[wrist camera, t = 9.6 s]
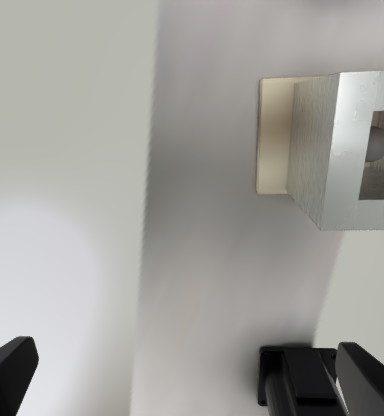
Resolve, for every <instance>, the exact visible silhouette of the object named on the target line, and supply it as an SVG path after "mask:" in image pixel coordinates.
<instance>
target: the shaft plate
mask: <svg viewBox="0 0 384 416" xmlns="http://www.w3.org/2000/svg"><path fill="white" fill-rule="evenodd" d="M319 77H324V76H312V77H291V78H270V79H261V80H260V95H259V122H258V149H257V177H256V191H257V193H258V194H289V193H288V192H287V190H286V183H287V170H288V158H289V145H290V132H291V119H292V107H293V94H294V83H298V82H302V81H306V80H311V79H315V78H319ZM378 115H379V111H373V115H372V121H371V127H370V133H369V139H368V145H367V151H366V157H365V163H364V167H370V162H374V161H377V160H379V159H381V158H382V157H383V156H384V130H383V129H382V128H379V127H377V121H378Z"/></svg>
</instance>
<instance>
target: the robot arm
mask: <svg viewBox="0 0 384 416" xmlns="http://www.w3.org/2000/svg"><path fill="white" fill-rule="evenodd" d="M265 353H267V354H265ZM38 361H39V357H38V353H37V349H36V346H35V342H34V339H33V338H32V337H30V336H19V337H16V338H14V339H13V340H11V341H10V342H8V343H7V344H5V345H4V346H2V347H0V416H16V414H17V412H18V410H19V408H20V405H21V403H22V401H23V398H24V396H25V394H26V391H27V389H28V387H29V384H30V382H31V379H32V377H33V375H34V373H35V370H36V368H37V365H38ZM337 377H338V380H339V383H340V387H341V390H342V393H343V396H344V400H345V403H346V406H347V409H348V412H349V414H348V412H347V409H346V407H345V405H344V403H343V401H342V398H341V396H340V394H339V391H338V389H337V387H336V385H335V384H336V379H337ZM257 401H258V404H259V405H260V406H268V410H269V415H270V416H384V365H383V364H382V363H381V362H380V361H378V360H377V359H376V358H375V357H373V356H372V355H371V354H369V353H368V352H367V351H366V350H365V349H363V348H362V347H361V346H359V345H358V344H357V343H354V342H340V343H339V345H338V350H336V349H334V348H288V347H263V348H261V349H260V351H259V368H258V387H257Z"/></svg>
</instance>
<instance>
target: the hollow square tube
mask: <svg viewBox="0 0 384 416" xmlns="http://www.w3.org/2000/svg"><path fill="white" fill-rule="evenodd" d="M373 111H379V115H378V121H377V127H379V128H382V129H383V130H384V71H365V72H342V73H337V74H332V75H328V76H324V77H319V78H315V79H311V80H306V81H302V82H298V83H294V94H293V107H292V119H291V132H290V145H289V158H288V170H287V183H286V190H287V192H288V193H289V194H290V195H291V196H292V197H293V199H294V200H295V201H296V202H297V203H298V205H299V206H300V207H301V208H302V209H303V210H304V212H305V213H306V214H307V215H308V216H309V217H310V219H311V220H312V221H313V222H314V223H315V224H316V226H317V227H318V228H319V229H320V230H384V156H383V157H382V158H381V159H379V160H377V161H374V162H370V167H364V163H365V157H366V151H367V145H368V139H369V133H370V127H371V121H372V115H373Z"/></svg>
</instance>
